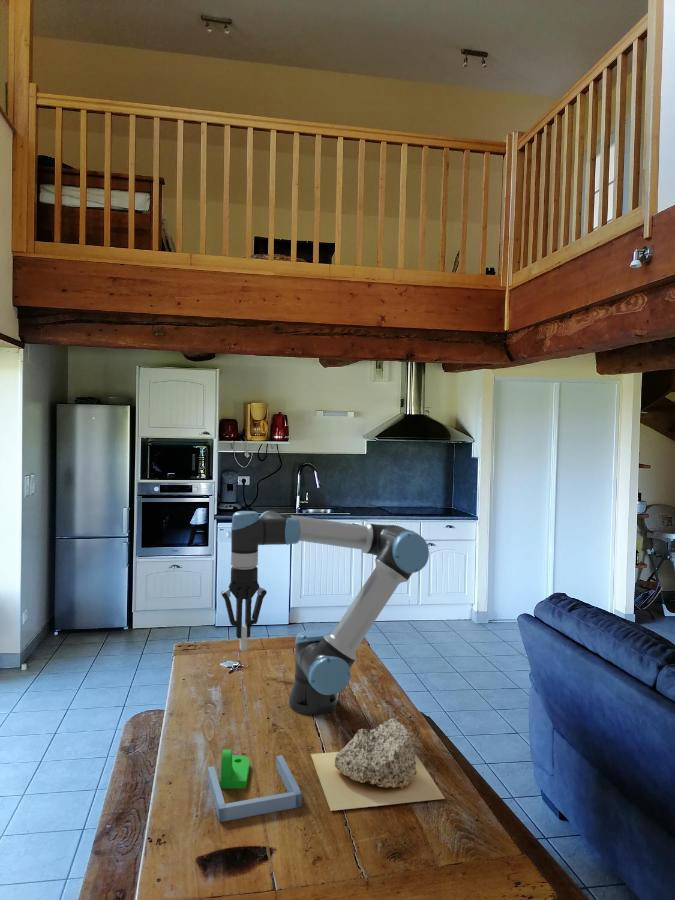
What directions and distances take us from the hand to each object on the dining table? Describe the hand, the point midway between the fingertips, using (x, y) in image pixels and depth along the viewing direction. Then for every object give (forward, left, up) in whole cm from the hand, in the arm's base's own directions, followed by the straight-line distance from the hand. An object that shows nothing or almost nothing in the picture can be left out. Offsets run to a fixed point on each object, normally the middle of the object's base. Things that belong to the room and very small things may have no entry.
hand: (243, 648), depth 179 cm
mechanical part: (+5, +21, -25) cm, 33 cm away
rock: (-28, +29, -29) cm, 49 cm away
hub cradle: (+3, +29, -24) cm, 38 cm away
